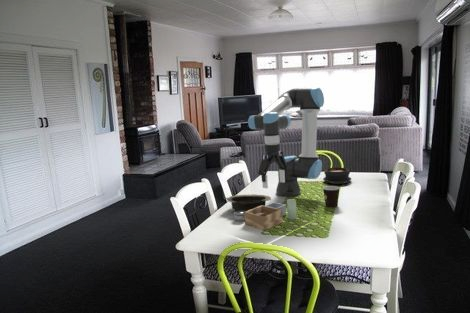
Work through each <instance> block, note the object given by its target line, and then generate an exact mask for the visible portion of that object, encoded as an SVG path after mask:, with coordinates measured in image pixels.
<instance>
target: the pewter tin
mask: <svg viewBox="0 0 470 313" xmlns="http://www.w3.org/2000/svg"><path fill="white" fill-rule="evenodd" d="M244 212H246V211H243V210H239V211H233V215H234V221H235V222H236V223H237V222H238V223H242V222H245V215H244Z"/></svg>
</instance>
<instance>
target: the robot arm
mask: <svg viewBox="0 0 470 313" xmlns="http://www.w3.org/2000/svg"><path fill="white" fill-rule="evenodd" d="M324 104H325V97H324V93H323V90H322V89H321V88H320V87H318V86H308V87H294V88H292V89H289V90H287V91H285V92H283V93H282V94H281V95H279V96H278V97H277V100H276V101H274V102H273V103H272V104H270V105H268V106H267V107H266V108H265V109H263V110H262V111H261V112H260V113H258V114H254V115H249V117H248V120H247V124H248V128H249V129H250V130H256V131H257V130H263V137H264V152H265V153H266V154H262V155H261V162H260V166H259V170H258V174H257V175H260V176H261V182H262V188H263V189H269V186H268V175H267V174H268V171H269V169H270V167H271V165H273V163H276V165H277V176H278V182H277V185H276V190H275V191H276V192H275V194H276V195H277V196H280V197H294V196H295V197H296V196H299V195H300V194H301V187H300V185H299V180H298V179H308V180H317V179H318V178H319V177H320V175H321V173H322V169H323V163H322V162H323V161H322V160H321V159H319V158H320V157H319V155H318V154H317V134H318V132H317V130H318V112H320V111H321V108H322V107H323V106H324ZM294 108H299V111H300V112H301V114H302V119H301V121H302V122H301V151H300V152H301V153H300V154H299V155H298V157H297V155H287V156H284V151H282V150H281V146H280V145H281V144H280V143H281V142H280V140H281V139H280V131H281V130H285V129H287V128H289V127H290V126H291V123H292V121H291V120H292V119H291V117H290V116H289V115H288V114H285V113H284V112H285V111H288V110H290V109H294ZM282 113H283V114H282Z"/></svg>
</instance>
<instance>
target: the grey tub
mask: <svg viewBox="0 0 470 313" xmlns="http://www.w3.org/2000/svg"><path fill="white" fill-rule="evenodd" d="M265 206H267V207H272V208H276V209H281V210H282V215H283V217H284V216H286V215H287V204H286V203H285V204H283V203H280V202H274V201H273V202H271V203H268V204H265Z"/></svg>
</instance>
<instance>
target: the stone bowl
mask: <svg viewBox="0 0 470 313" xmlns="http://www.w3.org/2000/svg"><path fill="white" fill-rule="evenodd" d="M225 199H226V200H227V201H228V202H229V203H231V209H232V210H233V212H235V211H239V210H243V211H248V210H251V209H254V208H256V207H259V206H261V205H263V206H265V205H267V202H268V201H271V200H272V197H271V196H269V195H265V194H255V193H254V194H238V195H235V194H234V195H231V196H228V197H227V196H226V197H225ZM266 201H267V202H266Z"/></svg>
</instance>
